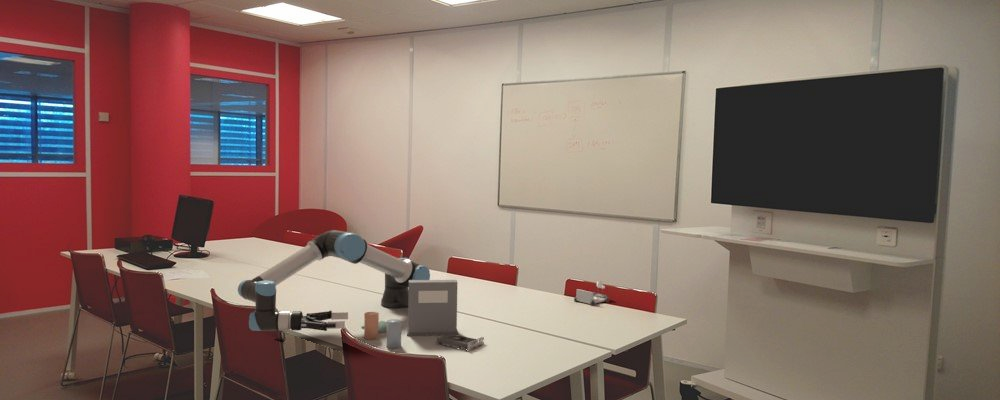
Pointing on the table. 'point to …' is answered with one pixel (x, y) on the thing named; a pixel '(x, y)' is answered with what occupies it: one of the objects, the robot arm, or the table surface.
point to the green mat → (382, 327)
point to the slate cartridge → (393, 333)
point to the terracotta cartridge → (371, 325)
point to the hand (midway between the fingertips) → (346, 320)
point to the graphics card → (460, 341)
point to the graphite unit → (432, 307)
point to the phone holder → (591, 296)
